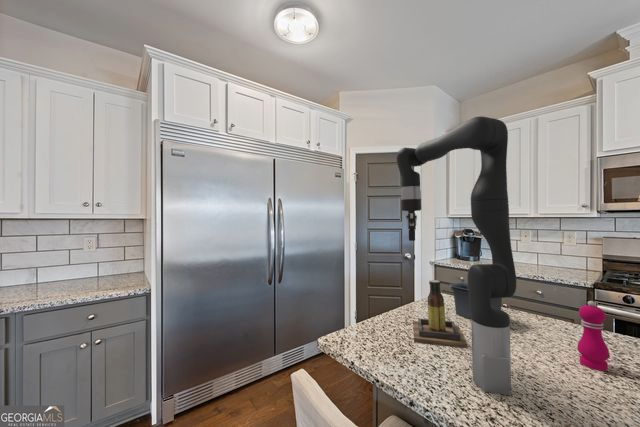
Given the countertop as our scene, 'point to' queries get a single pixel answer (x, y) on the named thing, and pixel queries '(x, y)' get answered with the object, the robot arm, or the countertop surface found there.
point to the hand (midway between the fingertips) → (411, 239)
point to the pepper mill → (592, 338)
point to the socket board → (438, 334)
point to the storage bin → (467, 299)
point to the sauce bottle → (436, 308)
